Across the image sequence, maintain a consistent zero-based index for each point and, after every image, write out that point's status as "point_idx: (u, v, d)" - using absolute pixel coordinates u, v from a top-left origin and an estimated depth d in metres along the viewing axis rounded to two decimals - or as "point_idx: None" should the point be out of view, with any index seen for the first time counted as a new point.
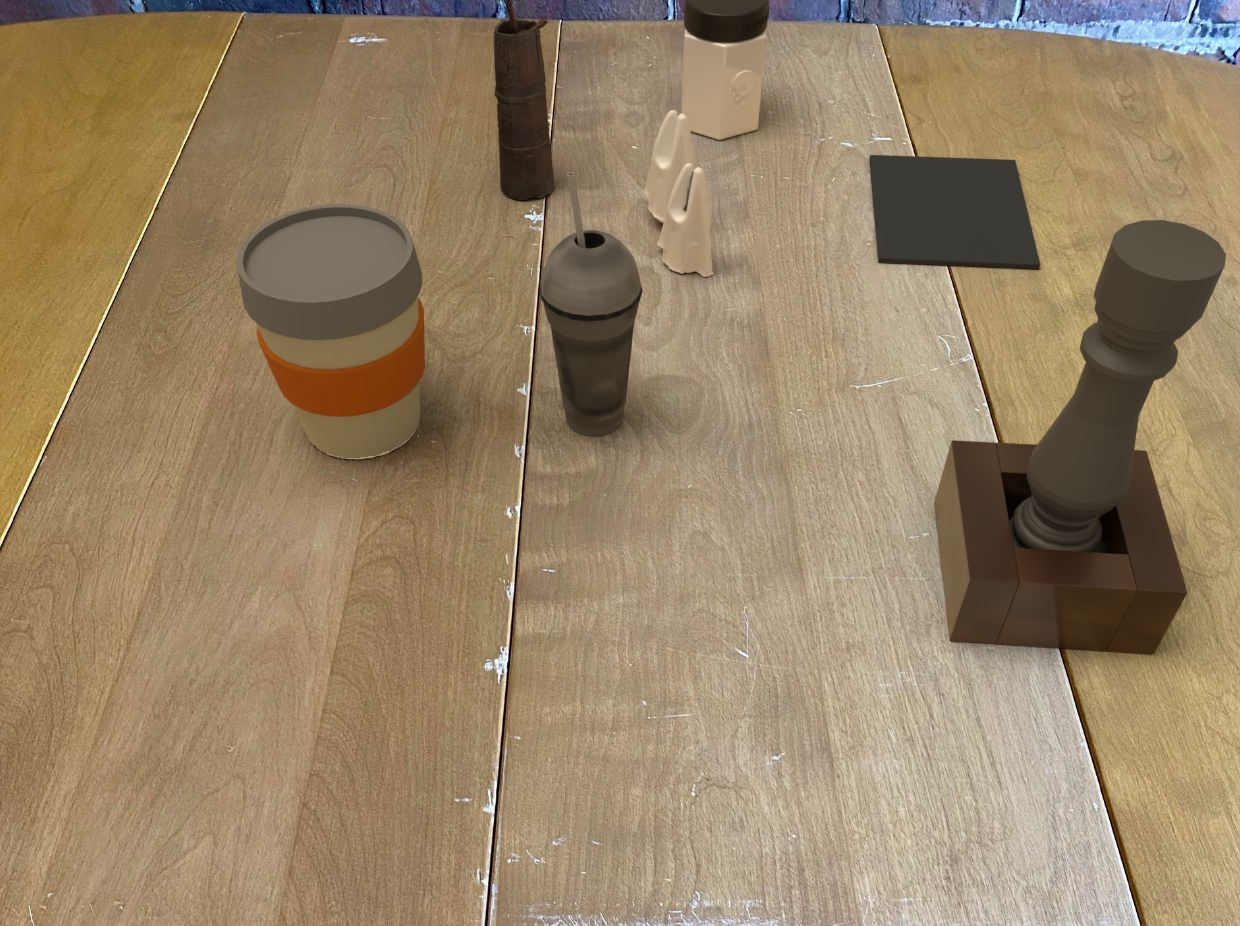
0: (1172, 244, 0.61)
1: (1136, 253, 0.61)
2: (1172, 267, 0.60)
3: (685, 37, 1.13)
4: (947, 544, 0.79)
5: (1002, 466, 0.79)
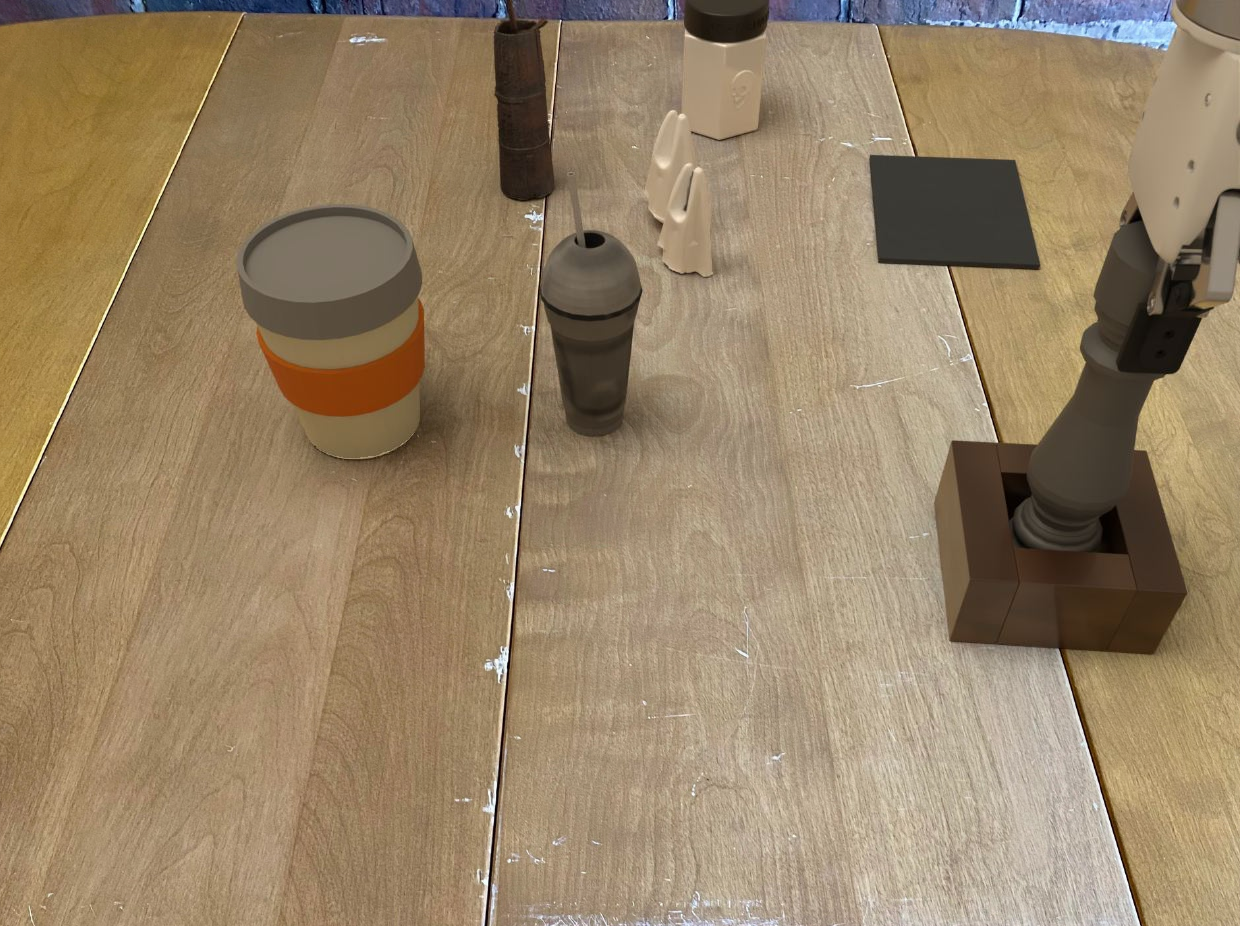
0: None
1: (1136, 253, 0.61)
2: None
3: (685, 37, 1.13)
4: (947, 544, 0.79)
5: (1002, 466, 0.79)
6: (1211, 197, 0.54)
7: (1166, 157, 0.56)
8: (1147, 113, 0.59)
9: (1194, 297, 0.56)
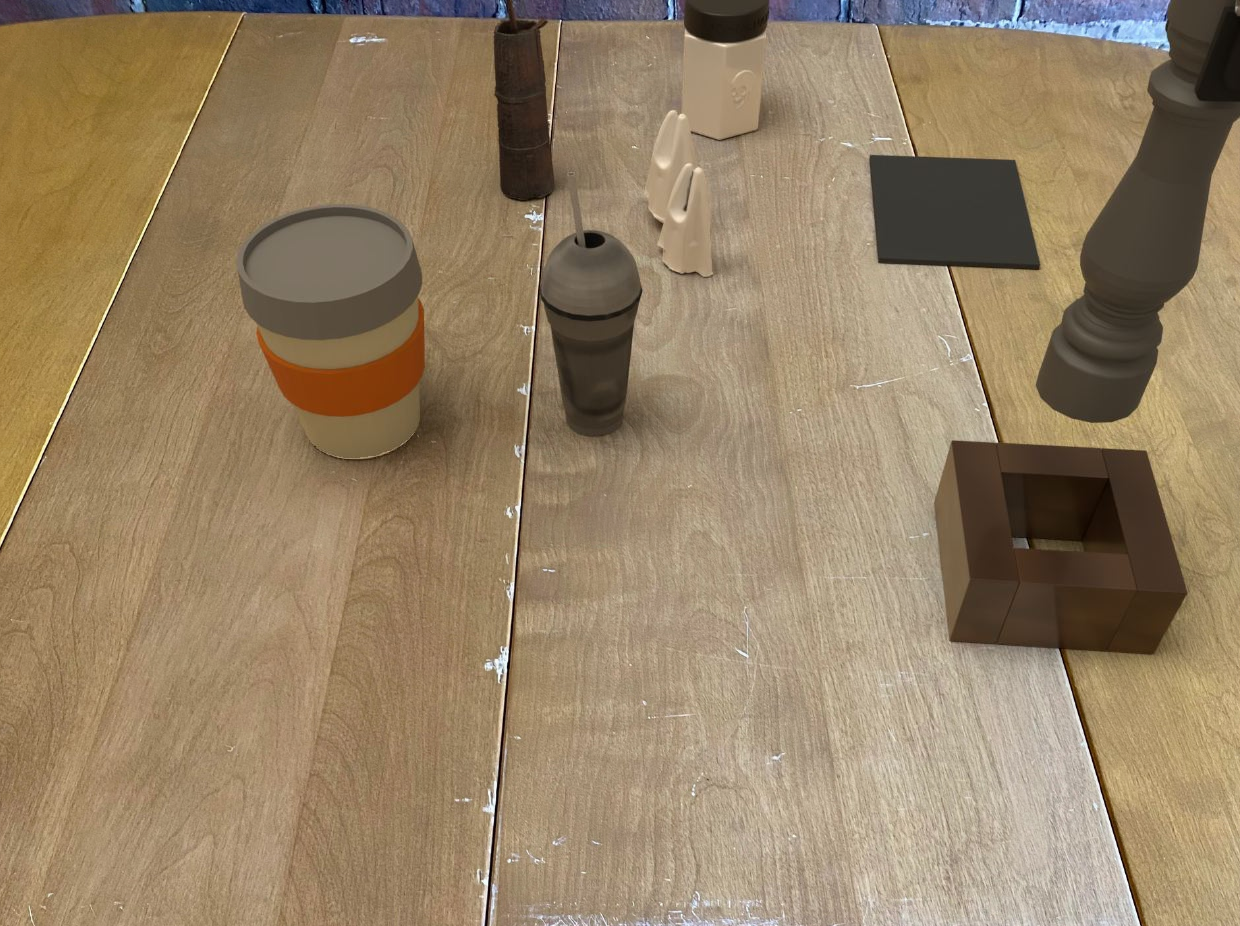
0: None
1: None
2: None
3: (685, 37, 1.13)
4: (947, 544, 0.79)
5: (1002, 466, 0.79)
6: None
7: None
8: None
9: None
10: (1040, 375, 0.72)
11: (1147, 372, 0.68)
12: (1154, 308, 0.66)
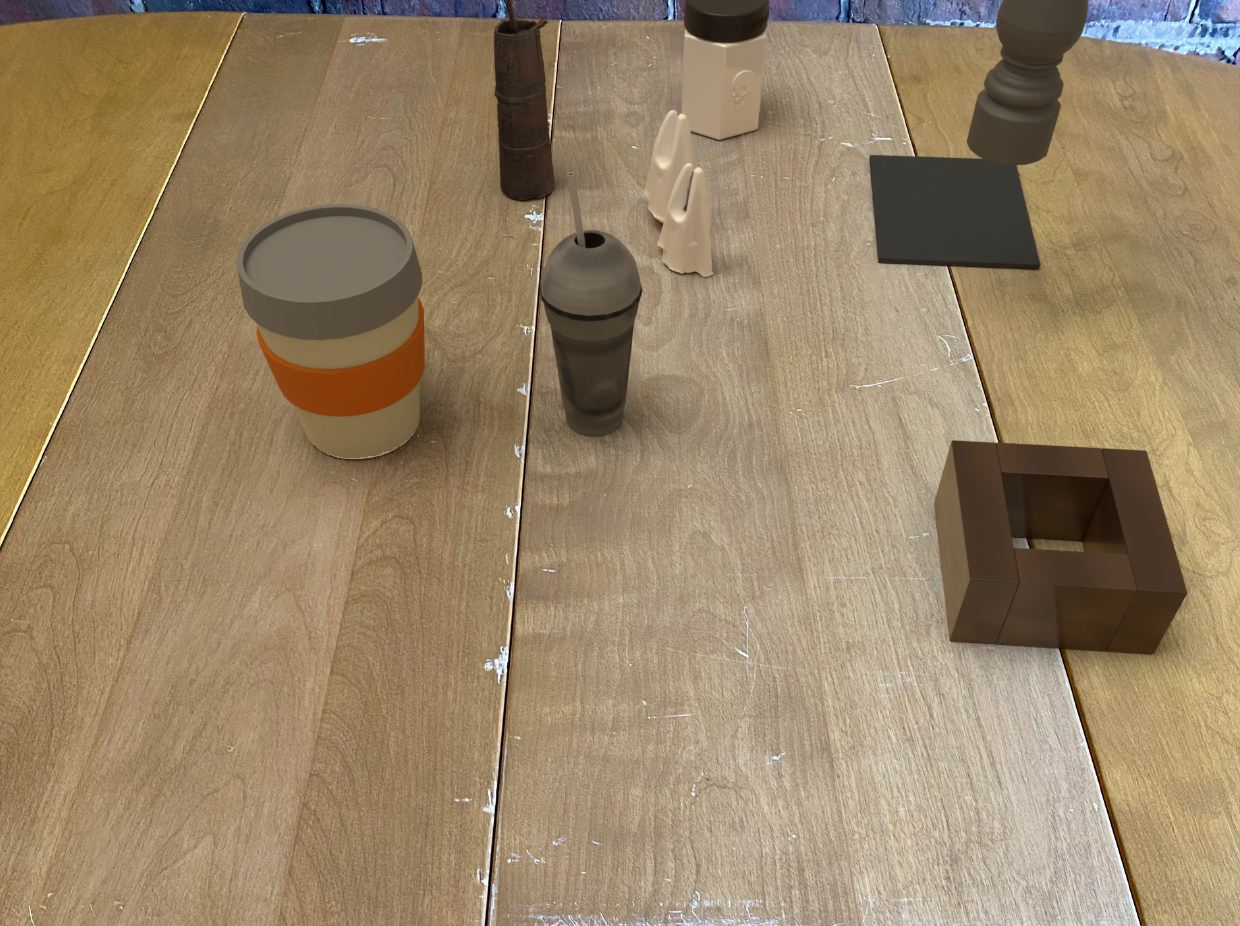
0: None
1: None
2: None
3: (685, 37, 1.13)
4: (947, 544, 0.79)
5: (1002, 466, 0.79)
6: None
7: None
8: None
9: None
10: (969, 131, 0.90)
11: (1051, 119, 0.87)
12: (1054, 61, 0.84)
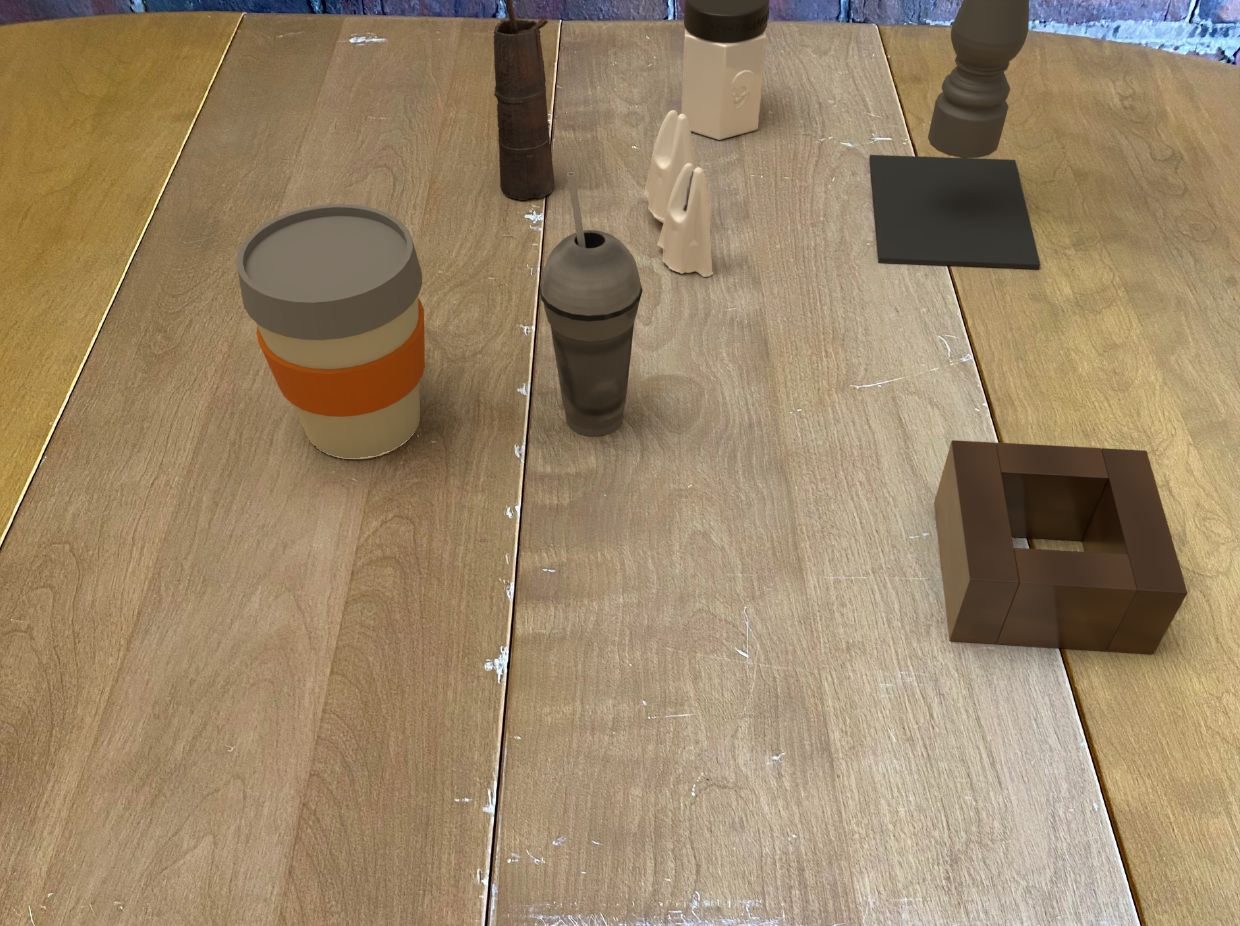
0: None
1: None
2: None
3: (685, 37, 1.13)
4: (947, 544, 0.79)
5: (1002, 466, 0.79)
6: None
7: None
8: None
9: None
10: (930, 128, 1.04)
11: (999, 118, 1.00)
12: (1000, 68, 0.98)
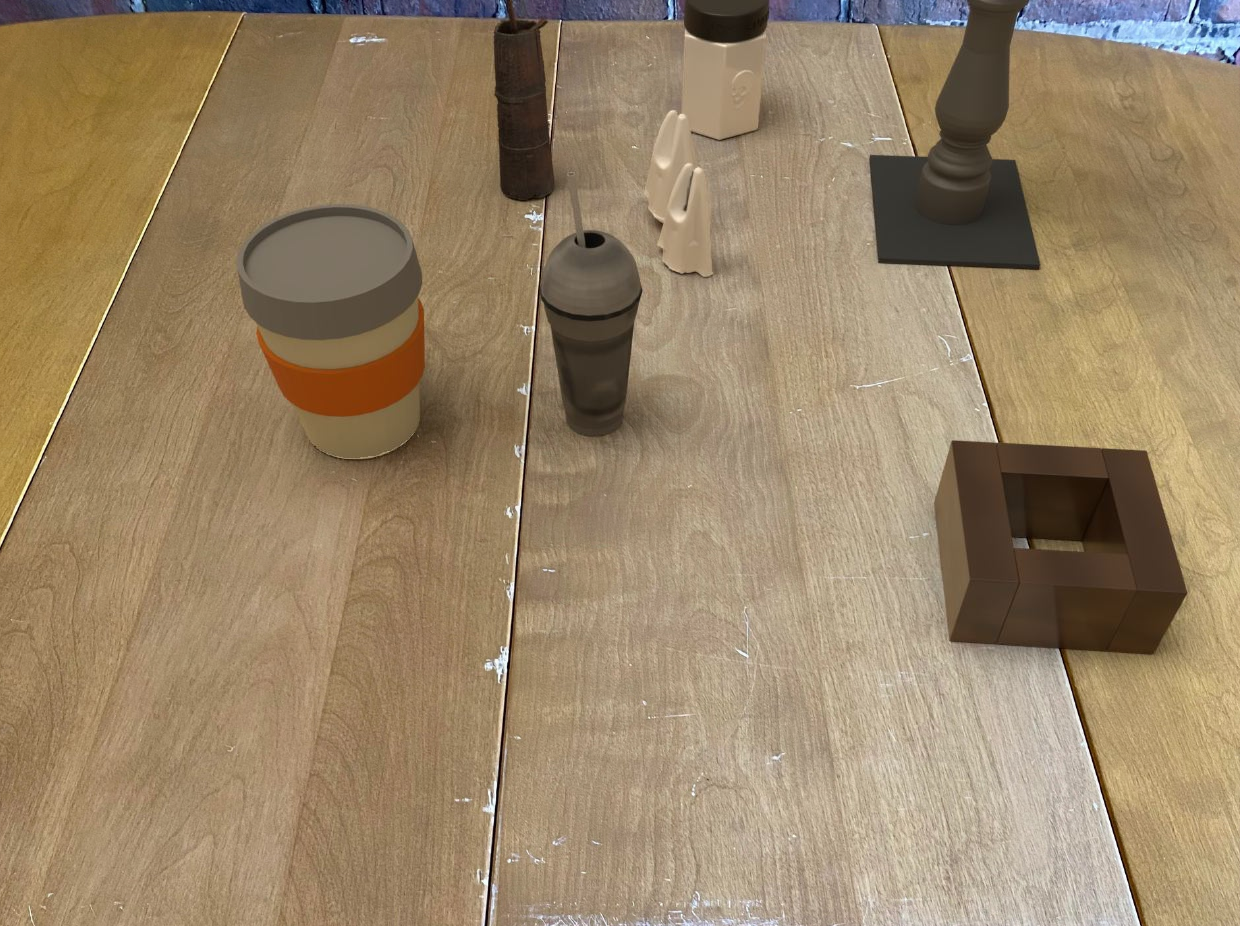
0: None
1: None
2: None
3: (685, 37, 1.13)
4: (947, 544, 0.79)
5: (1002, 466, 0.79)
6: None
7: None
8: None
9: None
10: (917, 196, 1.09)
11: (982, 188, 1.05)
12: (982, 142, 1.03)
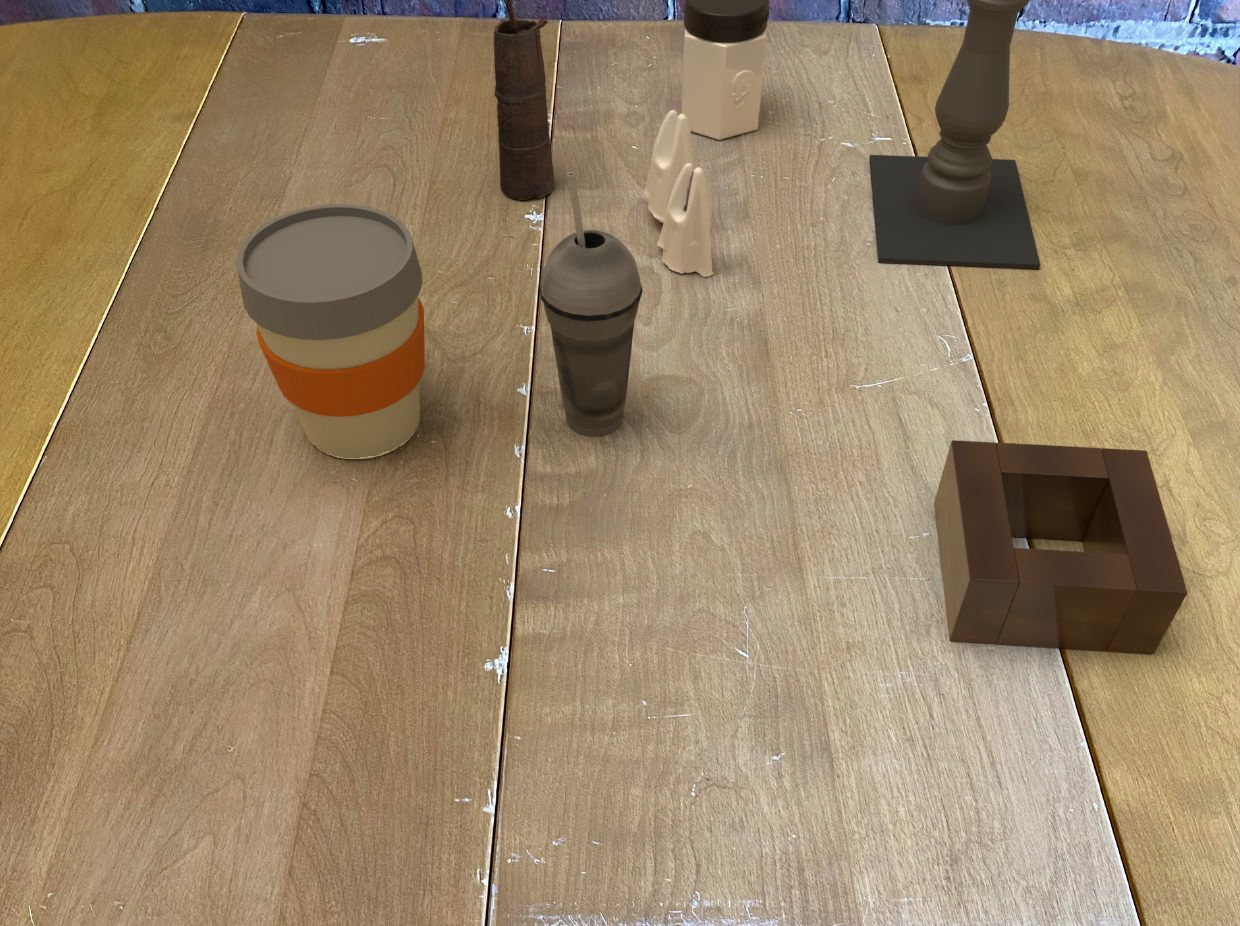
0: None
1: None
2: None
3: (685, 37, 1.13)
4: (947, 544, 0.79)
5: (1002, 466, 0.79)
6: None
7: None
8: None
9: None
10: (917, 195, 1.09)
11: (982, 188, 1.05)
12: (982, 142, 1.03)
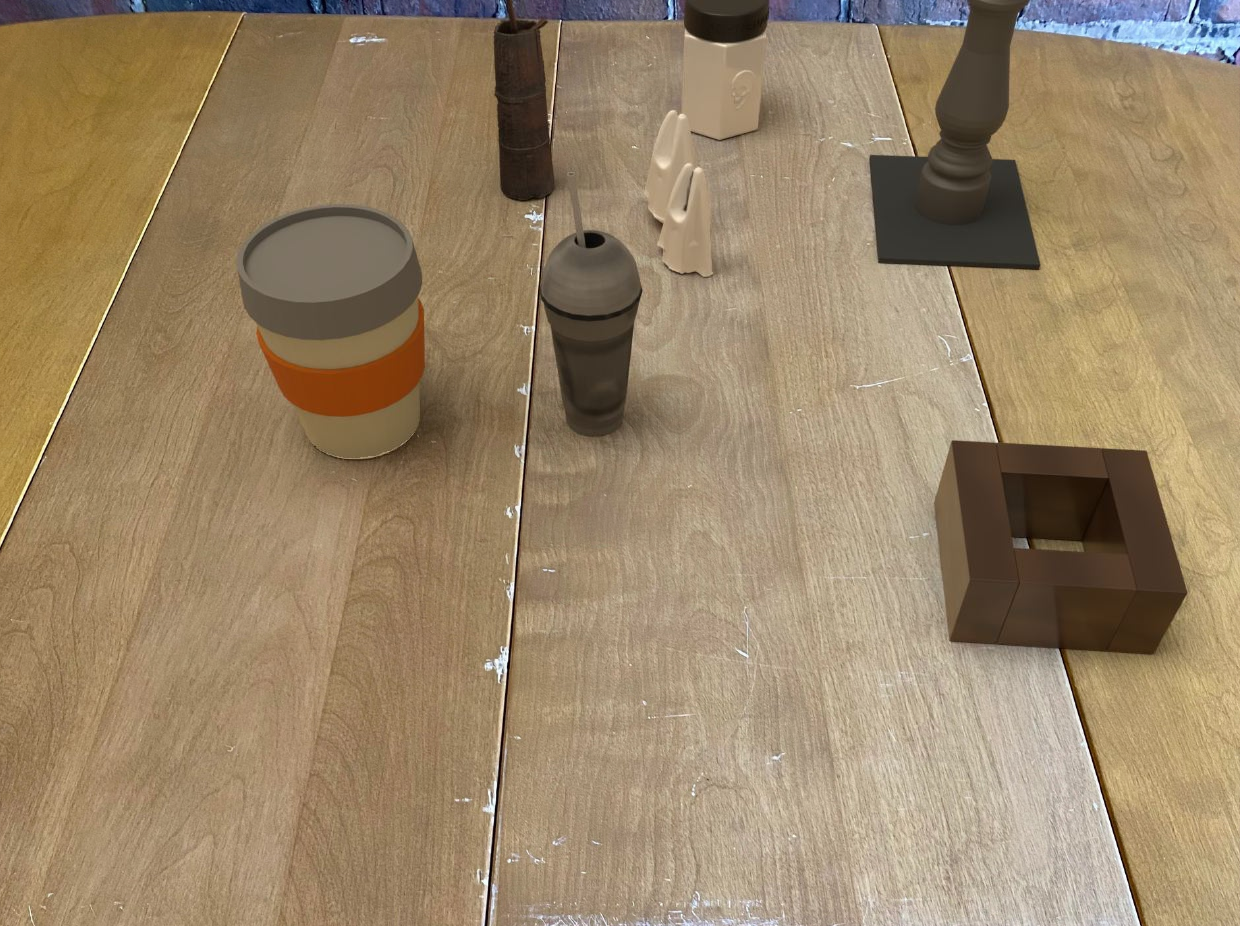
0: None
1: None
2: None
3: (685, 37, 1.13)
4: (947, 544, 0.79)
5: (1002, 466, 0.79)
6: None
7: None
8: None
9: None
10: (917, 195, 1.09)
11: (982, 188, 1.05)
12: (982, 142, 1.03)
